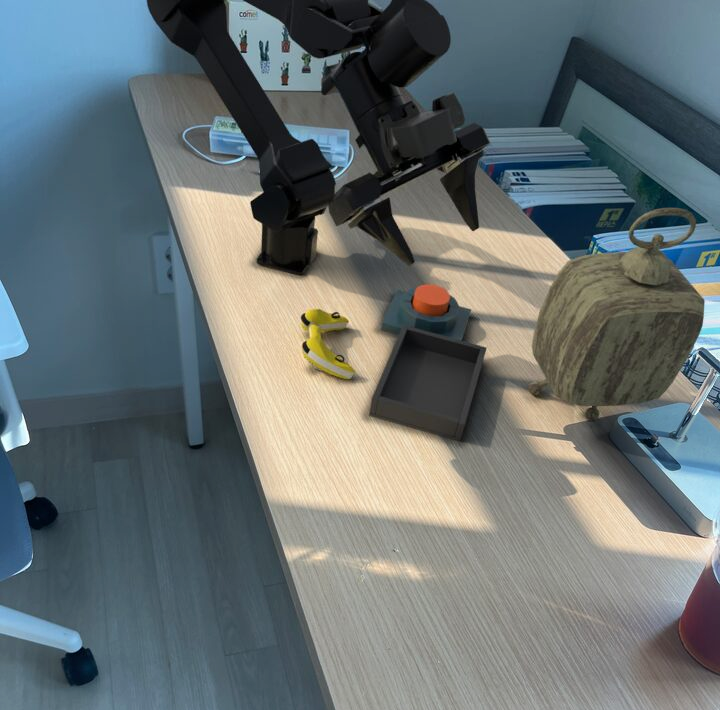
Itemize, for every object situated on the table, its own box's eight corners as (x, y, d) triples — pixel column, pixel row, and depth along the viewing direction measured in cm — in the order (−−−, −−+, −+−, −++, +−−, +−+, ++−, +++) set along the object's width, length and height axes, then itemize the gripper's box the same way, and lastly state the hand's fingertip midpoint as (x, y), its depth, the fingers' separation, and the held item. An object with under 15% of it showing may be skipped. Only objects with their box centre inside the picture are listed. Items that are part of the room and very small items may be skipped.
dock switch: (380, 330, 94) (384, 310, 92) (395, 296, 100) (399, 277, 97) (457, 351, 93) (463, 332, 91) (469, 316, 99) (474, 297, 96)
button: (408, 311, 93) (411, 299, 92) (416, 292, 96) (419, 280, 95) (443, 320, 93) (446, 308, 92) (450, 301, 96) (453, 289, 95)
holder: (368, 416, 83) (371, 397, 81) (399, 342, 93) (403, 324, 91) (459, 442, 82) (465, 424, 80) (481, 365, 92) (486, 347, 90)
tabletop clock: (621, 379, 94) (716, 187, 75) (654, 430, 88) (766, 236, 69) (513, 384, 90) (585, 185, 72) (540, 438, 84) (626, 236, 66)
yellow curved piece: (293, 318, 92) (305, 296, 90) (338, 336, 95) (352, 315, 92) (295, 370, 85) (308, 348, 83) (344, 388, 88) (358, 367, 86)
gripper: (332, 108, 70) (409, 263, 73) (483, 42, 76) (549, 188, 79) (297, 155, 80) (366, 289, 83) (433, 94, 86) (492, 221, 89)
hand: (444, 246), depth 83 cm, fingers open, 9 cm apart
